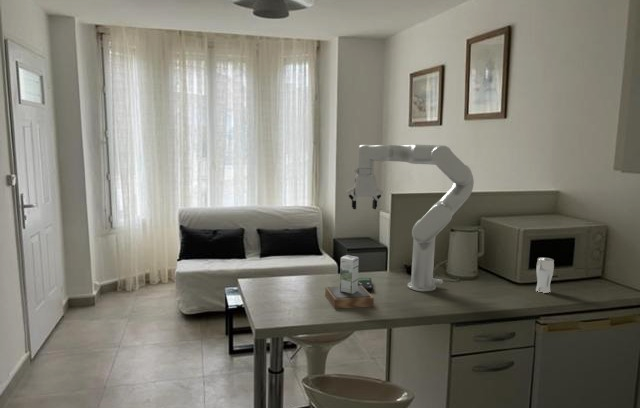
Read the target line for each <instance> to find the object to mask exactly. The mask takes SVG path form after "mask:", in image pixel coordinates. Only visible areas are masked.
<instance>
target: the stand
mask: <svg viewBox="0 0 640 408" xmlns="http://www.w3.org/2000/svg"><path fill="white" fill-rule="evenodd" d="M324 287H325V290H324V291H325V292H324V296H325V297H326V298H327V301H328V302H329V303H330V304H331V306H332V307H333V309H352V308H356V309H357V308H373V307H374V302H375V301H374V300H375V298H374V296H373V295H372V294H371V292H368V291H367V290H366V289H365V288H364V287H363V286H358V291H356V292H355V293H353V294H349V293H344V292H340V286H324Z"/></svg>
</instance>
